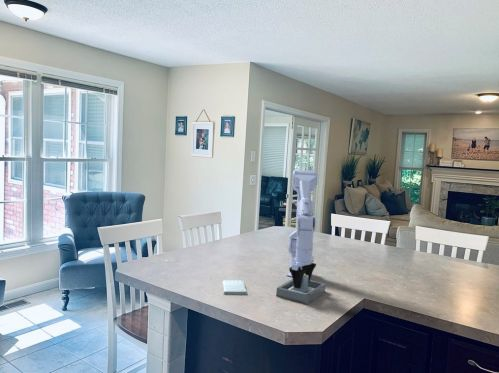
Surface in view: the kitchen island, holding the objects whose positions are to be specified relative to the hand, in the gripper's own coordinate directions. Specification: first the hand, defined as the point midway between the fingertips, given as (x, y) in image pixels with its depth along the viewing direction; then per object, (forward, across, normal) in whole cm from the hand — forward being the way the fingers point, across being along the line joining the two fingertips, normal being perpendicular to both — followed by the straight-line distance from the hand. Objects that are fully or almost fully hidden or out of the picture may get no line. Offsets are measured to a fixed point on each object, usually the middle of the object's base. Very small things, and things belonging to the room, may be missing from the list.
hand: (301, 285), depth 140 cm
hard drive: (+4, +11, -22) cm, 25 cm away
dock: (+3, 0, 0) cm, 3 cm away
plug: (+3, 0, 0) cm, 3 cm away
